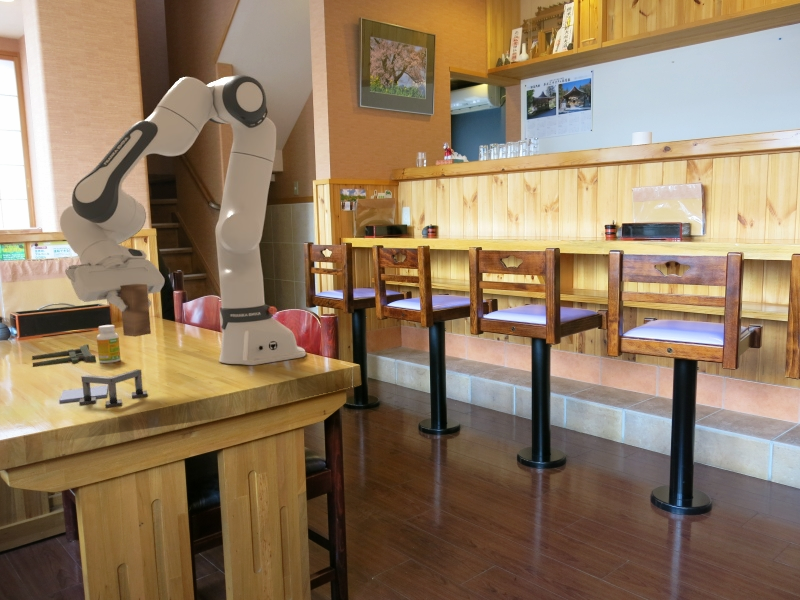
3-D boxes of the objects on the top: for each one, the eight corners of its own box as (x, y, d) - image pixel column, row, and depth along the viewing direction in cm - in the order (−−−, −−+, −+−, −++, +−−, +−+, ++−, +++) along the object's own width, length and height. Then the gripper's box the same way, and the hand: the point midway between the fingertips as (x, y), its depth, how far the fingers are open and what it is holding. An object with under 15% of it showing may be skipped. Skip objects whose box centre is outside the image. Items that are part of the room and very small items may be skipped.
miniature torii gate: (31, 352, 190) (88, 344, 197) (32, 360, 191) (89, 351, 198) (32, 365, 171) (95, 355, 179) (33, 374, 172) (96, 363, 179)
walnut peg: (139, 332, 148) (135, 283, 147) (150, 333, 146) (146, 284, 145) (123, 335, 145) (119, 285, 144) (135, 336, 143) (130, 286, 141)
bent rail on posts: (146, 393, 142) (144, 367, 142) (148, 402, 135) (145, 375, 134) (80, 401, 137) (77, 375, 137) (77, 411, 130) (75, 383, 129)
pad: (107, 387, 148) (107, 385, 148) (106, 397, 140) (106, 394, 140) (63, 393, 145) (63, 390, 145) (59, 403, 137) (59, 400, 137)
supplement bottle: (112, 363, 175) (109, 327, 174) (94, 363, 177) (91, 327, 175) (124, 359, 181) (121, 324, 180) (107, 359, 182) (104, 324, 181)
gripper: (66, 256, 138) (98, 304, 134) (149, 250, 155) (180, 292, 151) (56, 276, 141) (87, 324, 137) (139, 269, 158) (169, 311, 154)
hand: (136, 307), depth 144 cm, fingers closed on walnut peg, 4 cm apart
